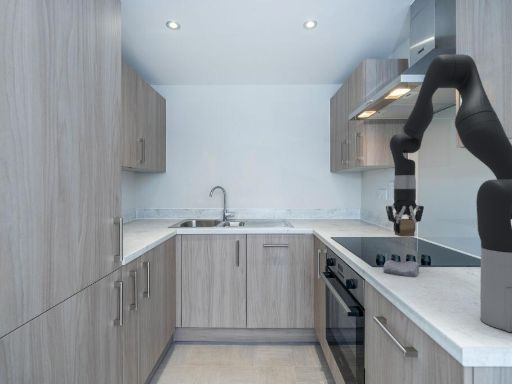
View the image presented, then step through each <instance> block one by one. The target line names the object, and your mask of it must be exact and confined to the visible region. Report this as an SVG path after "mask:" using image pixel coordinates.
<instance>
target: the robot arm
mask: <svg viewBox="0 0 512 384" xmlns="http://www.w3.org/2000/svg"><path fill="white" fill-rule="evenodd" d="M438 89H455V90H457V91H458V93H459V95H460V99H461V102H460V103H461V104H460V106H459V109H458V110H457V113H456V115H455V119H454V126H455V129H456V132H457V135H458V137H459V139H460V142H461V144H462V145H463V147H464V148H465V150H467V151H468V152H469V153H471V155H472V156H473V157H475V158H476V159H477V160H479V161H480V162H481V163H483V164H484V165H485V166H486V167H487V168H489V170H490V171H491V172H492V174H493V175H494V176H495V179H488V180H485V181H484V182H482V183H481V185H480V186H479V188H478V190H477V194H476V219H477V221H476V222H477V232H478V233H477V234H478V236H479V239H480V294H479V296H480V299H479V300H480V303H479V304H480V306H479V307H480V315H479V316H480V320H481V322H483V323H484V324H486V325H489V326H490V327H493V328H497V329H499V330H504V331H506V332H508V333H512V144H511V141H510V140H509V137H508V136H507V133H506V132H505V129H504V127H503V125H502V123H501V120H500V119H499V117H498V115H497V112H496V111H495V109H494V108H493V106H492V104H491V101H490V100H489V99H490V98H489V97H488V95H487V93H486V90H485V88H484V85H483V82H482V80H481V77H480V73H479V71H478V67H477V64H476V62H475V61H474V59H473V57H472V56H470V55H468V54H461V53H460V54H456V53H455V54H449V53H448V54H438V55H437V56H435V57H434V58H433V59H432V61H431V62H430V64H429V66H428V68H427V69H426V73H425V75H424V78H423V81H422V84H421V86H420V89H419V91H418V95H417V98H416V102H415V103H414V106H413V108H412V110H411V113H410V114H409V116H408V117H407V120H406V122H405V123H404V125H403V129H402V131H403V132H404V133H398V134H397V133H396V134H394V135H392V137H391V138H390V140H389V148H390V149H389V150H390V151H391V156H392V159H393V164H394V179H393V200H394V202H393V204H391V205H386V206H385V211H386V214H387V215H386V216H387V220H388V221H389V222H391V223H393V232H394V234H395V233H397V234H399V233H400V224H399V222H400V219H403V216H405V215H406V217H407V219H411V220H415V225H416V224H417V223H418V222H421V221H422V217H423V213H424V208H425V207H424V205H420V204H419V205H417V203H416V199H417V179H416V178H417V177H416V161H414V160H413V159H411V158H410V159H409V158H406V157H405V156H404V154H414V153H416V152H418V151H419V150H420V149H421V146H422V142H423V137H424V134H425V132H426V130H427V129H428V127H429V126H430V124H431V123H432V121H433V118H434V114H435V113H434V105H433V96H434V94H435V93H436V92H437V90H438ZM394 210H395V212H394Z"/></svg>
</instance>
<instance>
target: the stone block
mask: <svg viewBox="0 0 512 384" xmlns="http://www.w3.org/2000/svg"><path fill="white" fill-rule="evenodd" d="M383 272H384V273H385V274H386V273H387V274H391V275H392V274H393V275H396V276H402V277H408V278H417V277H419V275H420V274H419V272H420V264H419V263H418V262H416V261H413V260H412V261H411V260H408V261H407V260H406V261H394V260H393V259H389V260H387V261H385V262H384V264H383Z"/></svg>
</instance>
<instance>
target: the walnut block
mask: <svg viewBox="0 0 512 384" xmlns="http://www.w3.org/2000/svg"><path fill="white" fill-rule="evenodd" d="M399 224H400V233H399V234H397V233H395V232H394V235H395V236H398V237H402V238H403V237H404V238H405V237H416V236H415V232H416V224H415V220H411V219H409V218H401V219H400V222H399Z"/></svg>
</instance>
